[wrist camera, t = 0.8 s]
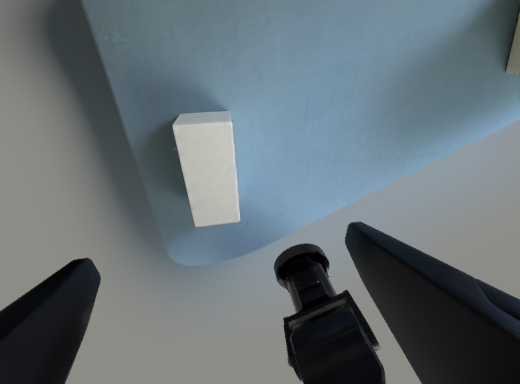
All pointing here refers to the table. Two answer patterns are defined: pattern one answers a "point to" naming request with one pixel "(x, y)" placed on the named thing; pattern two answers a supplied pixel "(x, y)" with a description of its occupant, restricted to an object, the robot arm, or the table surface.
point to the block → (208, 166)
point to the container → (515, 52)
